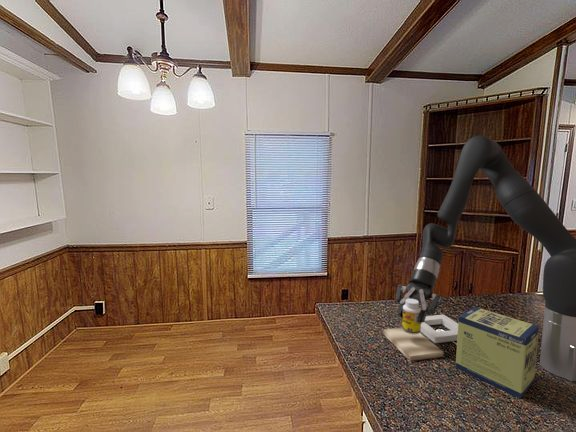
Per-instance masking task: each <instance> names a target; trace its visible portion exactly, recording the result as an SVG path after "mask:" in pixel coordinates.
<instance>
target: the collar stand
mask: <svg viewBox="0 0 576 432" xmlns="http://www.w3.org/2000/svg"><path fill="white" fill-rule="evenodd" d="M434 325H443V326H444V327H446V329H448V330H443V331H442V330H441V331H437V330H435V328H433V327H431V326H434ZM420 333H421V334H422V335H423V336H425V337H426V338H427V339H428V340H430V341H431V342H432V343H433V344H439V343H445V342H446V343H447V342H448V343H449V342H455V341H456V342H457V336H458V322H457V321H455V320H453V319H452V318H450V317H448V316H447V315H445V314H437V315H434V314H433V315H426V318H425V321H424V322H422V323H421V330H420Z"/></svg>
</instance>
